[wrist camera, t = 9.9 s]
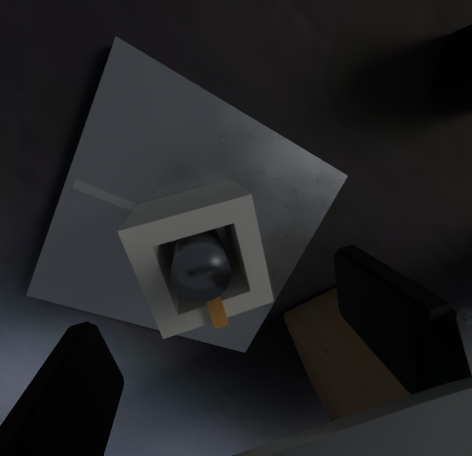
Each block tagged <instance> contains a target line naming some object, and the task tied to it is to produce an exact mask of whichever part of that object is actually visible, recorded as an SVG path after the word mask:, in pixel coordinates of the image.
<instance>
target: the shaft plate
mask: <svg viewBox="0 0 472 456" xmlns="http://www.w3.org/2000/svg"><path fill="white" fill-rule="evenodd" d="M346 178H347V175H346V174H344V173H342V172H341V171H339V170H337V169H336V168H334V167H332V166H331V165H329V164H327V163H326V162H324V161H322V160H321V159H319V158H317V157H316V156H314V155H312V154H311V153H309V152H307V151H306V150H304V149H302V148H301V147H299V146H297V145H296V144H294V143H292V142H291V141H289V140H287V139H286V138H284V137H282V136H281V135H279V134H277V133H276V132H274V131H272V130H271V129H269V128H267V127H266V126H264V125H262V124H261V123H259V122H257V121H256V120H254V119H252V118H251V117H249V116H247V115H246V114H244V113H242V112H241V111H239V110H237V109H236V108H234V107H233V106H231V105H229V104H228V103H226V102H224V101H223V100H221V99H219V98H218V97H216V96H214V95H213V94H211V93H209V92H208V91H206V90H204V89H203V88H201V87H199V86H198V85H196V84H194V83H193V82H191V81H189V80H188V79H186V78H184V77H183V76H181V75H179V74H178V73H176V72H174V71H173V70H171V69H169V68H168V67H166V66H164V65H163V64H161V63H159V62H158V61H156V60H154V59H153V58H151V57H149V56H148V55H146V54H144V53H143V52H141V51H139V50H138V49H136V48H134V47H133V46H131V45H129V44H128V43H126V42H124V41H123V40H121V39H119V38H118V37H115V40H114V43H113V46H112V49H111V52H110V54H109V57H108V60H107V63H106V66H105V69H104V72H103V75H102V78H101V81H100V83H99V86H98V89H97V92H96V95H95V98H94V101H93V104H92V107H91V109H90V112H89V115H88V118H87V121H86V124H85V127H84V130H83V133H82V135H81V138H80V141H79V144H78V147H77V150H76V153H75V156H74V159H73V161H72V164H71V167H70V170H69V173H68V176H67V179H66V182H65V185H64V188H63V190H62V193H61V196H60V199H59V202H58V205H57V208H56V211H55V214H54V216H53V219H52V222H51V225H50V228H49V231H48V234H47V237H46V240H45V242H44V245H43V248H42V251H41V254H40V257H39V260H38V263H37V266H36V268H35V271H34V274H33V277H32V280H31V283H30V286H29V289H28V292H27V294H26V296H30V297H34V298H37V299H41V300H45V301H49V302H53V303H57V304H60V305H64V306H68V307H72V308H76V309H80V310H83V311H87V312H91V313H95V314H99V315H102V316H106V317H110V318H114V319H118V320H122V321H125V322H129V323H133V324H137V325H141V326H145V327H148V328H152V329H156V330H159V328H158V326H157V323H156V321H155V319H154V316H153V314H152V312H151V309H150V307H149V305H148V302H147V300H146V298H145V295H144V293H143V291H142V288H141V286H140V284H139V281H138V279H137V277H136V274H135V272H134V269H133V267H132V265H131V262H130V260H129V258H128V255H127V253H126V251H125V248H124V246H123V244H122V241H121V239H120V237H119V234H118V232H117V231H118V230H119V228H120V227H121V226H122V224H123V223H124V222H125V220H126V219H127V218H128V216H129V215H130V214H131V212H132V211H133V210H134V208H135V207H136V206H137V204H140V203H143V202H147V201H151V200H155V199H158V198H162V197H166V196H170V195H173V194H177V193H181V192H185V191H188V190H192V189H196V188H200V187H203V186H207V185H211V184H215V183H218V182H222V181H226V180H231V181H232V182H234V183H235V184H237V185H238V186H240V187H241V188H243V189H245V190H246V191H248V192H249V193H251V194H252V198H253V203H254V208H255V213H256V217H257V222H258V227H259V232H260V237H261V241H262V246H263V251H264V256H265V261H266V265H267V270H268V275H269V280H270V285H271V289H272V294H273V299H274V302H275V300H276V299H277V297H278V295H279V293H280V292H281V290H282V288H283V287H284V285H285V283H286V281H287V280H288V278H289V276H290V274H291V273H292V271H293V269H294V268H295V266H296V264H297V262H298V261H299V259H300V257H301V256H302V254H303V252H304V250H305V249H306V247H307V245H308V244H309V242H310V240H311V238H312V237H313V235H314V233H315V231H316V230H317V228H318V226H319V225H320V223H321V221H322V219H323V218H324V216H325V214H326V213H327V211H328V209H329V207H330V206H331V204H332V202H333V200H334V199H335V197H336V195H337V194H338V192H339V190H340V188H341V187H342V185H343V183H344V182H345V180H346ZM170 244H171V246H172V249H173V258H172V267H171V283H172V286H173V288H174V290H175V291H176V293H177V294H178V295H179V296H181V297H182V298H184V299H186V300H188V301H192V302H207V301H210V300H213V299H215V298H217V297H218V296H220V295H221V294H222V293H223V292H224V291H225V290H226V289H227V287H228V286H229V283H230V281H231V276H232V271H231V266H230V264H229V261H228V258H227V256H226V253H225V252H227V251H230V246H229V242H228V238H227V235H226V231H225V227H224V226H222V227H219V228H215V229H212V230H208V231H205V232H201V233H198V234H194V235H191V236H188V237H184V238H181V239H177V240H174V241H170ZM274 302H272V303H269V304H266V305H263V306H260V307H257V308H254V309H251V310H248V311H245V312H242V313H239V314H236V315H233V316H230V317H227V320H228V323H229V325H227V326H224V327H221V328H218V329H215V328H214V325H213V323H210V324H207V325H204V326H201V327H198V328H195V329H192V330H189V331H186V332H183V333H180V334H177V335H179V336H183V337H187V338H190V339H194V340H198V341H202V342H206V343H210V344H213V345H217V346H221V347H225V348H229V349H232V350H236V351H240V352H244V353H245V352H246V350H247V348H248V347H249V345H250V343H251V342H252V340H253V338H254V336H255V335H256V333H257V331H258V330H259V328H260V326H261V324H262V323H263V321H264V319H265V318H266V316H267V314H268V312H269V311H270V309H271V307H272V305H273V304H274Z"/></svg>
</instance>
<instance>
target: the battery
mask: <svg viewBox="0 0 472 456" xmlns="http://www.w3.org/2000/svg"><path fill="white" fill-rule="evenodd" d="M433 91H434V92H435V93H437V94H440V95H443V96H448V97H452V98H456V99H460V100H464V101H468V102H472V24H471V25H469V26H467V27H464V28H462V29H460V30H457V31H455V32H454V33H452V34H451V36H450V38H449V41H448V44H447V47H446V50H445V53H444V56H443V59H442V63H441V66H440V69H439V72H438V75H437V78H436V81H435V84H434V88H433Z"/></svg>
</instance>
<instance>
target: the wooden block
mask: <svg viewBox="0 0 472 456" xmlns="http://www.w3.org/2000/svg"><path fill="white" fill-rule="evenodd" d="M284 321H285V323H286V325H287V328H288V330H289V332H290V335H291V337H292V339H293V342H294V344H295V346H296V349H297V351H298V353H299V356H300V358H301V361H302V363H303V365H304V368H305V370H306V372H307V375H308V377H309V379H310V381H311V383H312V385H313V387H314V389H315V390H316V392H317V394H318V396H319V398H320V400H321V402H322V403H323V405H324V407H325V409H326V411H327V413H328V414H329V416H330V418H331V420H332V421H334V420H337V419H340V418H343V417H346V416H349V415H352V414H355V413H358V412H361V411H364V410H367V409H370V408H372V407H375V406H378V405H381V404H384V403H387V402H390V401H393V400H396V399H399V398H402V397H406V396H409V395H412V394H410V393H409V392H408V391H407V390H406V389H405V388H404V387H403V386H402V384H401V383H400V382H399V381H398V380H397V379H396V378H395V377H394V375H393V374H392V373H391V372H390V371H389V370H388V369H387V367H386V366H385V365H384V364H383V363H382V362H381V361H380V359H379V358H378V357H377V356H376V355H375V354H374V353H373V352H372V350H371V349H370V348H369V347H368V346H367V345H366V344H365V342H364V341H363V340H362V339H361V338H360V337H359V336H358V334H357V333H356V332H355V331H354V330H353V329H352V328H351V327H350V325H349V324H348V323H347V322H346V321H345V320H344V319H343V317H342V316H341V314H340V311H339V305H338V295H337V287H335V288H333V289H331V290H329V291H327V292H325V293H323V294H321V295H319V296H317V297H315V298H313V299H311V300H309V301H307V302H305V303H302V304H300V305H298V306H296V307H294V308H292V309H290V310H288V311H286V312H285V313H284Z"/></svg>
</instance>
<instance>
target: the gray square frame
mask: <svg viewBox="0 0 472 456" xmlns="http://www.w3.org/2000/svg"><path fill="white" fill-rule="evenodd" d="M222 226H224V227H225V231H226V235H227V238H228V242H229V246H230V251H227V252H225V253H226V256H227V258H228V261H229V264H230V266H231V271H232V276H231V281H230V283H229V286H228V287H227V289H226V290H225V291H224V292H223V293H222V294H221V295H220V296H218V297H217V298H215V299H213V300H210V301H207V302H192V301H188V300H186V299H184V298H182V297H181V296H179V295H178V294H177V293H176V291H175V290H174V288H173V286H172V283H171V267H172V258H173V249H172V246H171V244H170V241H174V240H177V239H181V238H184V237H188V236H191V235H194V234H198V233H201V232H205V231H208V230H212V229H215V228H219V227H222ZM117 232H118V234H119V237H120V239H121V241H122V244H123V246H124V248H125V251H126V253H127V255H128V258H129V260H130V262H131V265H132V267H133V269H134V272H135V274H136V277H137V279H138V281H139V284H140V286H141V288H142V291H143V293H144V295H145V298H146V300H147V302H148V305H149V307H150V309H151V312H152V314H153V316H154V319H155V321H156V323H157V326H158V328H159V330H160V333H161V335H162V337H163V339H165V338H168V337H171V336H174V335H177V334H180V333H183V332H186V331H189V330H192V329H195V328H198V327H201V326H204V325H207V324H210V323H213V325H214V328H215V329H218V328H221V327H224V326H227V325H229V323H228V320H227V317H230V316H233V315H236V314H239V313H242V312H245V311H248V310H251V309H254V308H257V307H260V306H263V305H266V304H269V303H272V302H274V299H273V294H272V289H271V285H270V280H269V275H268V270H267V265H266V261H265V256H264V251H263V246H262V241H261V237H260V232H259V227H258V222H257V217H256V213H255V208H254V203H253V198H252V194H251V193H249V192H248V191H246V190H245V189H243V188H241V187H240V186H238V185H237V184H235V183H234V182H232V181H231V180H226V181H222V182H218V183H215V184H211V185H207V186H203V187H200V188H196V189H192V190H188V191H185V192H181V193H177V194H173V195H170V196H166V197H162V198H158V199H155V200H151V201H147V202H143V203H140V204H137V206H136V207H135V208H134V210H133V211H132V212H131V214H130V215H129V216H128V218H127V219H126V220H125V222H124V223H123V224H122V226H121V227H120V228H119V230H118V231H117Z"/></svg>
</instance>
